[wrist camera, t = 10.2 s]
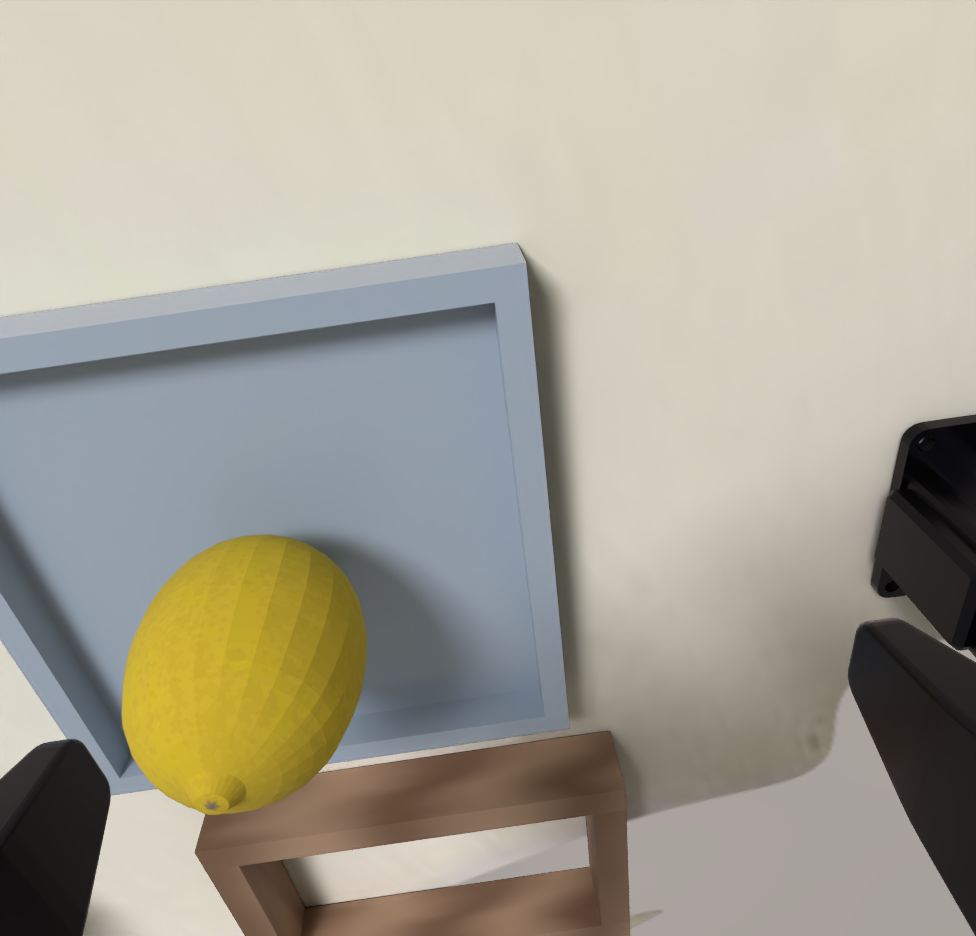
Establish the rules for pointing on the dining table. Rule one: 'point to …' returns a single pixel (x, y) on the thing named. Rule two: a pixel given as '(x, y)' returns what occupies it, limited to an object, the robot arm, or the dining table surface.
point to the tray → (291, 486)
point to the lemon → (244, 674)
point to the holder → (429, 814)
